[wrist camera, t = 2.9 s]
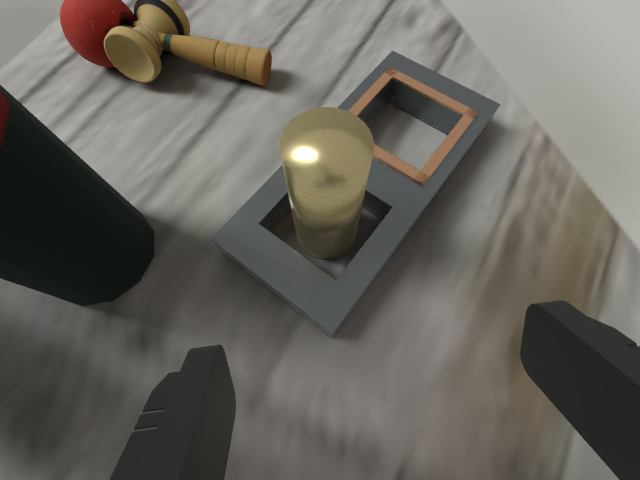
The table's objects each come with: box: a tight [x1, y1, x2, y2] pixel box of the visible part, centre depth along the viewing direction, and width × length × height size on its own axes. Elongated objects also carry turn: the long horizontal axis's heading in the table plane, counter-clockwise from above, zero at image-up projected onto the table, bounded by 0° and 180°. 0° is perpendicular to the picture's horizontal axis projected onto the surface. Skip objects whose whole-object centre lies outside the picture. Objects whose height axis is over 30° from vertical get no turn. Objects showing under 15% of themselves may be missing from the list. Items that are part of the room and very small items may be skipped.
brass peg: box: [280, 107, 374, 259], centre depth 21 cm, size 4×4×10 cm
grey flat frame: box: [211, 51, 500, 339], centre depth 26 cm, size 10×22×3 cm, turn 142°
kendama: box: [60, 0, 272, 86], centre depth 30 cm, size 8×6×18 cm
